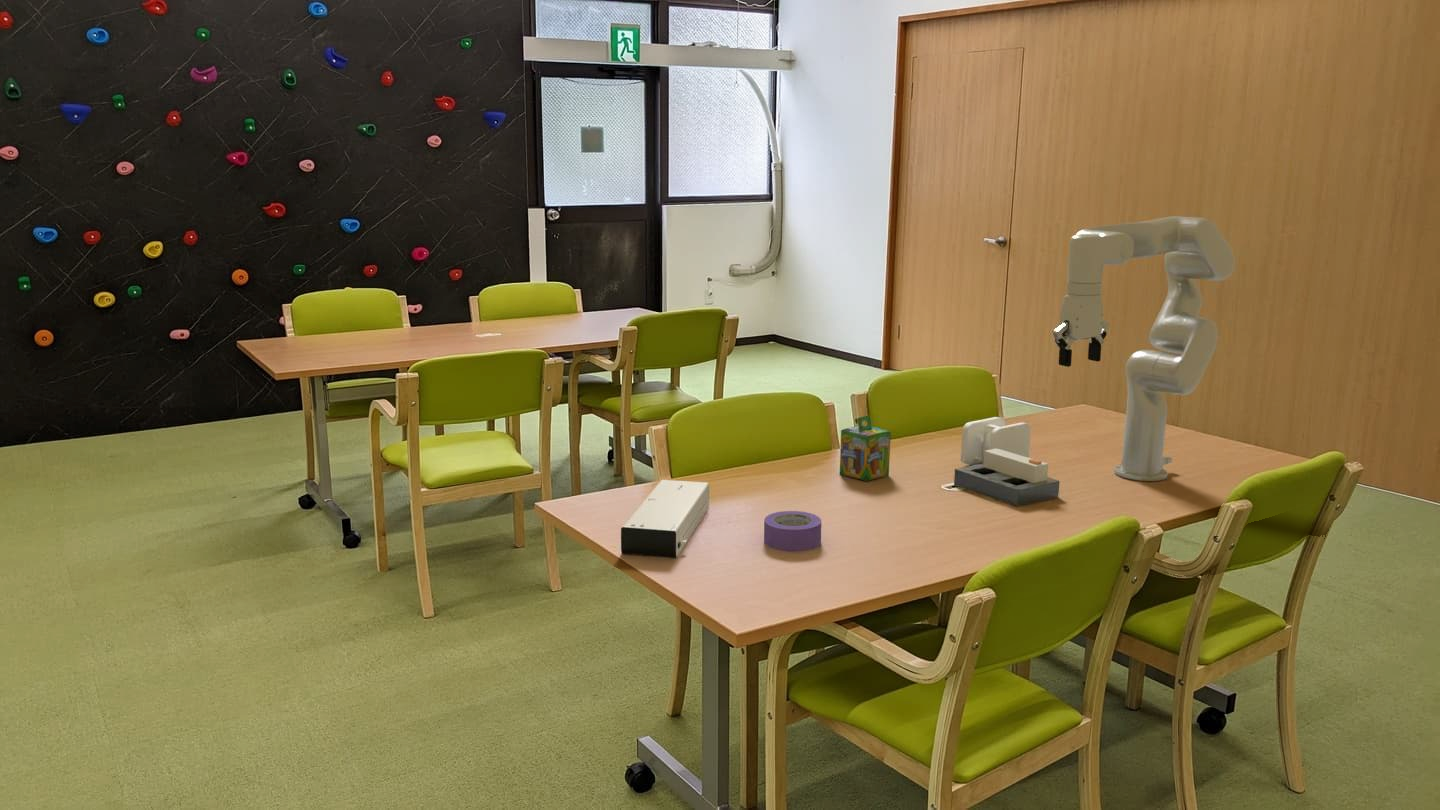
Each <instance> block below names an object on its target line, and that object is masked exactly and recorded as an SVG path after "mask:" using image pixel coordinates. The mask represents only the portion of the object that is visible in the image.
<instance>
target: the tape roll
mask: <svg viewBox="0 0 1440 810" xmlns="http://www.w3.org/2000/svg"><path fill="white" fill-rule="evenodd" d="M763 521H764V525H763V526H764V527H763V529H764V530H763V542H764V545H766V546H767V547H768V548H771V549H774V550H777V551H781V552H782V551H783V552H790V553H791V552H793V553H796V552H798V553H799V552H801V553H802V552H807V551H812V550H815V549H817V548H819V547H820V546H821V544H822V518H821V517H820V516H818V515H816V514H814V513H811V512H806V511H800V510H798V511H797V510H784V511H783V510H782V511H777V512H773V513H770V514H767V515H766V516H765V517H764V519H763Z"/></svg>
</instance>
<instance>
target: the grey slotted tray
mask: <svg viewBox="0 0 1440 810" xmlns="http://www.w3.org/2000/svg"><path fill="white" fill-rule="evenodd" d="M953 477H954V479H953V485H954V486H956V487H958V488H962V489H964V490H968V491H970V492H973V493H976V494H979V495H982V496H984V497H988V498H990V499H994V500H995V501H999V502H1002V503H1005V504H1008V505H1011V506H1014V507H1016V508H1018V507H1022V506H1027V505H1031V504H1035V503H1039V502H1044V501H1048V500H1052V499H1056V498H1059V491H1060V483H1061V481H1060V480H1059V479H1055V478H1051V477H1049V476H1047V480H1045V481H1041V482H1036V483H1033V482H1029V481H1026V480H1023V479H1020V478H1017V477H1014V476H1011V475H1008V474H1004V473H1001V472H998V471H995V470H992V469H989V468H986V467H983V463H979V464H976V465H972V466H971V465H968V466H964V467H958V468H955V469H954V476H953Z"/></svg>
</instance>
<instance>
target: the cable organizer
mask: <svg viewBox="0 0 1440 810" xmlns="http://www.w3.org/2000/svg"><path fill="white" fill-rule="evenodd" d="M961 431H962V433H961V445H960V446H961V447H960V449H961V450H960V461H961V463H962V464H965V465H968V466H973V465H978V464H982V463H983V461H984V451H986V450H991V449H996V448H997V449H1001V450H1004V451H1007V452H1011V453H1014V454H1017V455H1021V456H1024V457H1027V458H1030V446H1031V445H1030V443H1031V431H1032V427H1031V424H1029V423H1027V422H1017V423H1013V424H1007V425H1006V421H1005V419H1004V418H1002V417H998V416H993V417H989V418H983V419H979V420H973V421H968V422H966V423H965V424H964V425H963V426H962V429H961Z"/></svg>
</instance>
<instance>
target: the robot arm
mask: <svg viewBox="0 0 1440 810" xmlns="http://www.w3.org/2000/svg"><path fill="white" fill-rule="evenodd" d="M1163 254H1165V255H1164V260H1163V261H1164V263H1163V264H1164V268H1165V269H1164V270H1165V274H1166V275H1165V276H1166V280H1167V288H1168V289H1167V294H1166V295H1167V296H1166V298H1165V300H1164V302H1163V304H1162V307H1161V308H1160V310H1159V312H1158V314H1157V316H1156V317H1155V320H1154V322H1153V325H1152V327H1151V329H1150V331H1149V335H1148V336H1149V339H1148V341H1149V342H1150V344H1151V346H1153V347H1154V348H1155V349H1157V350H1152V349H1140V350H1137V351H1135V352H1133V353H1132V354H1131V355H1130V356H1129V358H1128V359H1127V361H1126V366H1125V376H1126V378H1125V379H1126V383H1127V385H1126V387H1127V397H1126V398H1127V400H1126V411H1125V412H1126V413H1125V419H1124V420H1125V421H1124V423H1125V424H1124V431H1123V432H1124V434H1123V441H1122V442H1123V443H1122V452H1121V453H1122V454H1121V463H1120V464H1117V465H1115V466H1114V467H1113V468H1114V469H1113V472H1114V474H1116V475H1117V476H1119V477H1121V478H1125V479H1129V480H1135V481H1140V482H1143V481H1144V482H1156V481H1157V482H1159V481H1163V480H1166V479H1168V475H1169V474H1168V471H1167V470H1165V469H1164V466H1165V465H1169V464H1171V463H1172V461H1173V458H1172V457H1171V456H1170V455H1166V456H1164V446H1165V439H1166V438H1165V436H1166V426H1167V418H1168V403H1167V401H1166V397H1165V395H1164V393H1166V394H1172V395H1177V396H1178V395H1179V396H1188V395H1190V394H1192V393H1193V392H1194V391H1195V390H1196V388H1197V387H1198V385H1199V383H1200V381H1201V379H1202V378H1203V375H1204V373H1205V371H1206V370H1207V367H1208V365H1209V363H1210V361H1211V360H1212V357H1213V355H1214V353H1215V350H1216V348H1217V345H1218V342H1219V330H1218V326H1217V325H1216V322H1214V321H1213V320H1211V319H1209V318H1206V317H1203V316H1202V317H1201V316H1199V313H1200V312H1201V309H1202V306H1203V297H1202V293H1201V291H1200V289H1199V287H1198V285H1197V282H1196V280H1203V281H1210V282H1211V281H1213V282H1222V281H1225V280H1227V279H1229V278H1230V277H1231V276H1232V275H1233V274H1234V271H1235V268H1236V256H1235V253H1234V250H1233V248H1232V246H1231V245H1230V244H1229V242H1228V241H1227V240H1226V238H1225V236H1224V235H1223V233H1222V232H1221V230H1220V229H1219V228H1218V227H1217V225H1215V223H1214V222H1212V221H1211V220H1209V219H1208V218H1205V217H1196V216H1195V217H1192V216H1180V215H1174V216H1173V215H1172V216H1166V217H1165V216H1164V217H1161V218H1160V217H1159V218H1155V219H1150V220H1146V221H1137V222H1125V223H1119V224H1118V223H1117V224H1107V225H1099V226H1092V227H1087V228H1083V229H1081V230H1079V231H1078V232H1077V233H1075V235H1072V236H1071V237H1070V240H1069V245H1068V261H1067V263H1068V264H1067V282H1066V295H1063V300H1062V303H1061V308H1060V313H1059V319H1058V320H1059V321H1058V327H1056V328H1055V329H1054V330H1053V331H1052V334H1053V337H1054V343H1056V345H1057V348H1058V349H1059V351H1058V365H1059V366H1063V367H1067V368H1070V367H1071V366H1072V357H1073V355H1072V354H1073V350H1072V349H1071V347H1072V346H1073V344H1074V343H1075V341H1082V340H1087V339H1088V340H1089V341H1090V342H1088V350H1087V352H1088V353H1087V359H1088V360H1089V361H1093V362H1101V359H1102V358H1101V356H1102V345H1103V344H1104V341H1105V338H1106V337H1107V335H1108V334H1107V333H1108V330H1109V328H1110V323H1108V322H1107V321H1105V320H1104V306H1103V296H1102V286H1103V284H1102V283H1103V271H1104V269H1103V268H1104V266H1122V265H1123V264H1126V263H1128V262H1129V261H1130V260H1131V259H1142V258H1143V259H1144V258H1146V259H1147V258H1151V257H1155V256H1160V255H1163ZM1159 350H1161V351H1159Z"/></svg>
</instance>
